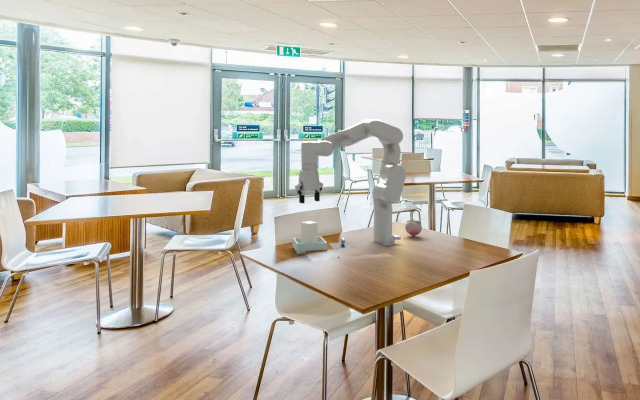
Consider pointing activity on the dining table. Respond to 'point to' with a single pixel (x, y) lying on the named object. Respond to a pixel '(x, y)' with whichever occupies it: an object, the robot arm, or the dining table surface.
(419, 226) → the decorative fruit
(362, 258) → the dining table surface
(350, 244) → the stud base
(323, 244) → the bin
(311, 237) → the light grey block
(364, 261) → the dining table surface
